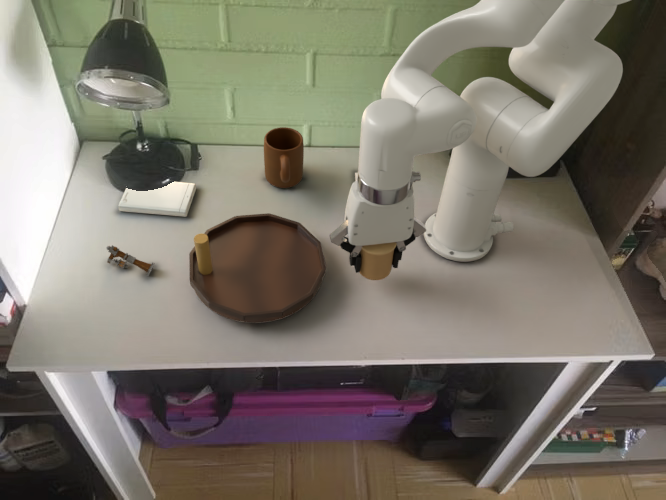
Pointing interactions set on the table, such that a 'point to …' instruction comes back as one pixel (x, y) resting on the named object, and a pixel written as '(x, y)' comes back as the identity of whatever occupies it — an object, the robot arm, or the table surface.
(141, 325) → the table surface
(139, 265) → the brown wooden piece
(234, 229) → the tray
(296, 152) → the mug
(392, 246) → the tan cylinder
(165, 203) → the hard drive
